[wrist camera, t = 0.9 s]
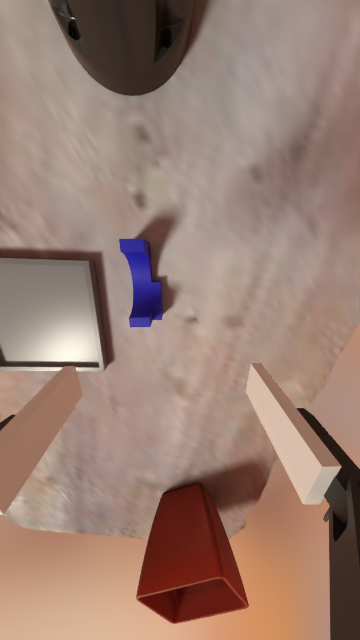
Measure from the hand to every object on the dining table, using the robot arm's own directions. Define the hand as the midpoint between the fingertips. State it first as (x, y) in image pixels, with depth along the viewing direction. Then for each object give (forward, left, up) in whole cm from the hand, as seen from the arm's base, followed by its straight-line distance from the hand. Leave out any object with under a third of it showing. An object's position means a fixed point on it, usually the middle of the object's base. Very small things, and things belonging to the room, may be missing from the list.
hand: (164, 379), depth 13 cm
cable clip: (-5, -4, -19) cm, 20 cm away
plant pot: (+60, +7, -19) cm, 63 cm away
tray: (+2, -22, -19) cm, 29 cm away
